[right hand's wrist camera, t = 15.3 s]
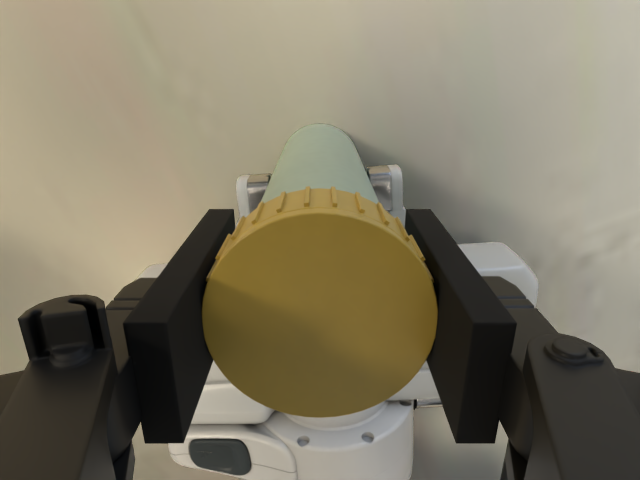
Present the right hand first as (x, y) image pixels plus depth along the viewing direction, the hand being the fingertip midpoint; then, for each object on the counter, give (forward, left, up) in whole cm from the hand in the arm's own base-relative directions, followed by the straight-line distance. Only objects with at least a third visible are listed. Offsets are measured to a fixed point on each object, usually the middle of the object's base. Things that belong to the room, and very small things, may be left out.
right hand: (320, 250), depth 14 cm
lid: (0, 0, +4) cm, 4 cm away
